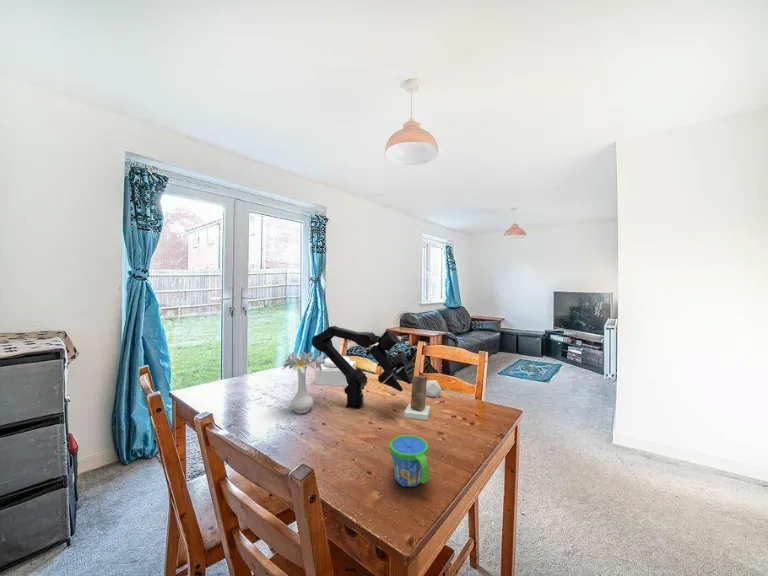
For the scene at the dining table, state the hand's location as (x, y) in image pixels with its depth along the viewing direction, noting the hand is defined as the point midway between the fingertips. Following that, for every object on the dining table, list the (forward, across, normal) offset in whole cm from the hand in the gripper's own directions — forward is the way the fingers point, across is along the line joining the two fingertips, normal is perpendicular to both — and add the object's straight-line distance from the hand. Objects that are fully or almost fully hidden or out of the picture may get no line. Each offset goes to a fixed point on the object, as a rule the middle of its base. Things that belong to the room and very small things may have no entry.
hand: (406, 387), depth 129 cm
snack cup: (+20, -39, -3) cm, 43 cm away
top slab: (+11, 0, +4) cm, 11 cm away
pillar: (+9, 0, +2) cm, 9 cm away
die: (+11, +23, +5) cm, 26 cm away
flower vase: (-21, -14, +39) cm, 46 cm away
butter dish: (-27, +26, +45) cm, 59 cm away
